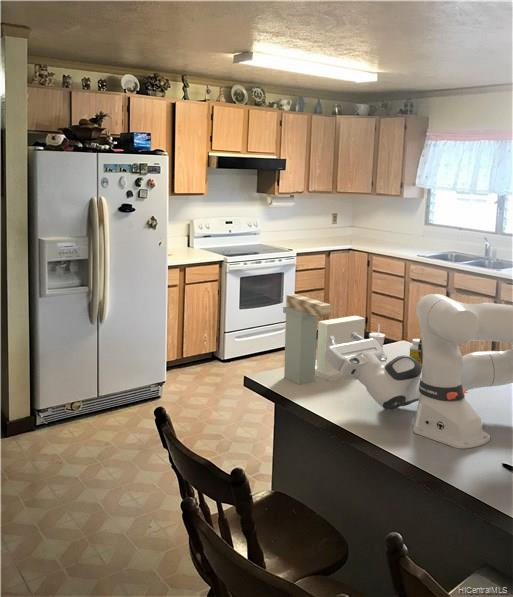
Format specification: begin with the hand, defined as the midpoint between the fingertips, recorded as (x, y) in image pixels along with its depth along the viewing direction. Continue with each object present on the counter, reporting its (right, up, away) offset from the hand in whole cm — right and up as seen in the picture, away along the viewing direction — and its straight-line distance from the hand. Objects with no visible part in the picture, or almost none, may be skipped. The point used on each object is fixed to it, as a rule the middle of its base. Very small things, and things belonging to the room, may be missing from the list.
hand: (341, 335), depth 208 cm
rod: (-10, +8, +14) cm, 19 cm away
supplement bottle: (+35, -14, +42) cm, 56 cm away
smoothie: (+20, -12, +49) cm, 54 cm away
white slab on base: (+3, -15, +31) cm, 35 cm away
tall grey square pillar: (-12, -17, +22) cm, 30 cm away
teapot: (+37, -18, +21) cm, 47 cm away
